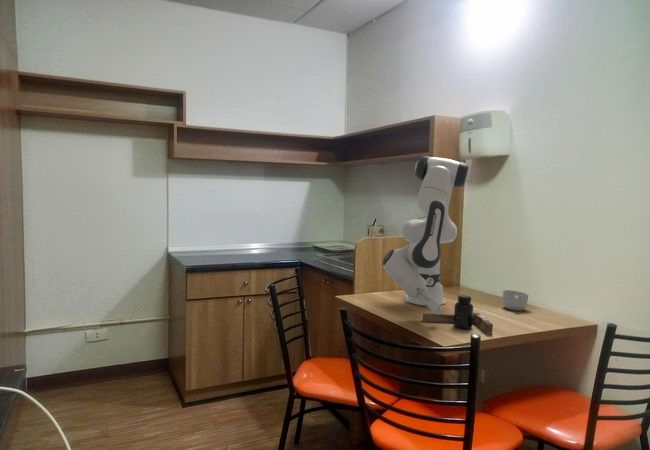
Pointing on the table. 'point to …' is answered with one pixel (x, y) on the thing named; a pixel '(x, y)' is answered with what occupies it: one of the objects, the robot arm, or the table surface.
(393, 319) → the table surface
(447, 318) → the rack
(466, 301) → the supplement bottle
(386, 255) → the robot arm
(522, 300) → the teacup
